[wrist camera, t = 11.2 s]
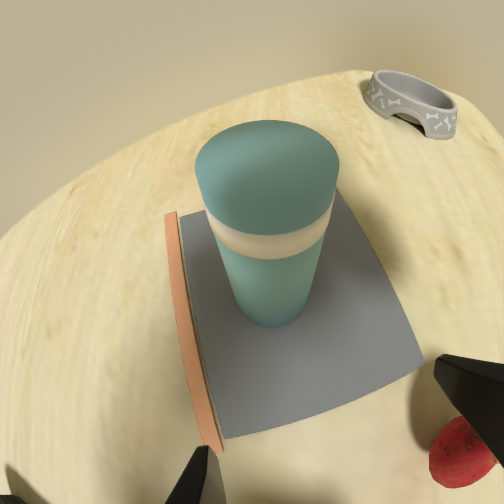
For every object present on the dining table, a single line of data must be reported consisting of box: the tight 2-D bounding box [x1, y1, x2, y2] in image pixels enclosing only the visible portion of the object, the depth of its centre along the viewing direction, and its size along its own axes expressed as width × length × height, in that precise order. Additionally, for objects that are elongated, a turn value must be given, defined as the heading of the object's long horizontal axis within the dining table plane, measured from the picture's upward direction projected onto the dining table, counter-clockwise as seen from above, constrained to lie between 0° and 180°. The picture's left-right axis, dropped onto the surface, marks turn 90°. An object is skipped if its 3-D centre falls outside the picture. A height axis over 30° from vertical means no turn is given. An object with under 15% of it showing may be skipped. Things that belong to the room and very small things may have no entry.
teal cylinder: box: [195, 120, 339, 328], centre depth 16 cm, size 6×6×13 cm
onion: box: [429, 416, 499, 488], centre depth 9 cm, size 6×6×8 cm
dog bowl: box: [363, 70, 457, 140], centre depth 35 cm, size 17×18×5 cm
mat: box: [180, 187, 426, 439], centre depth 21 cm, size 16×20×1 cm
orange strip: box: [164, 212, 223, 453], centre depth 21 cm, size 22×1×1 cm, turn 15°
